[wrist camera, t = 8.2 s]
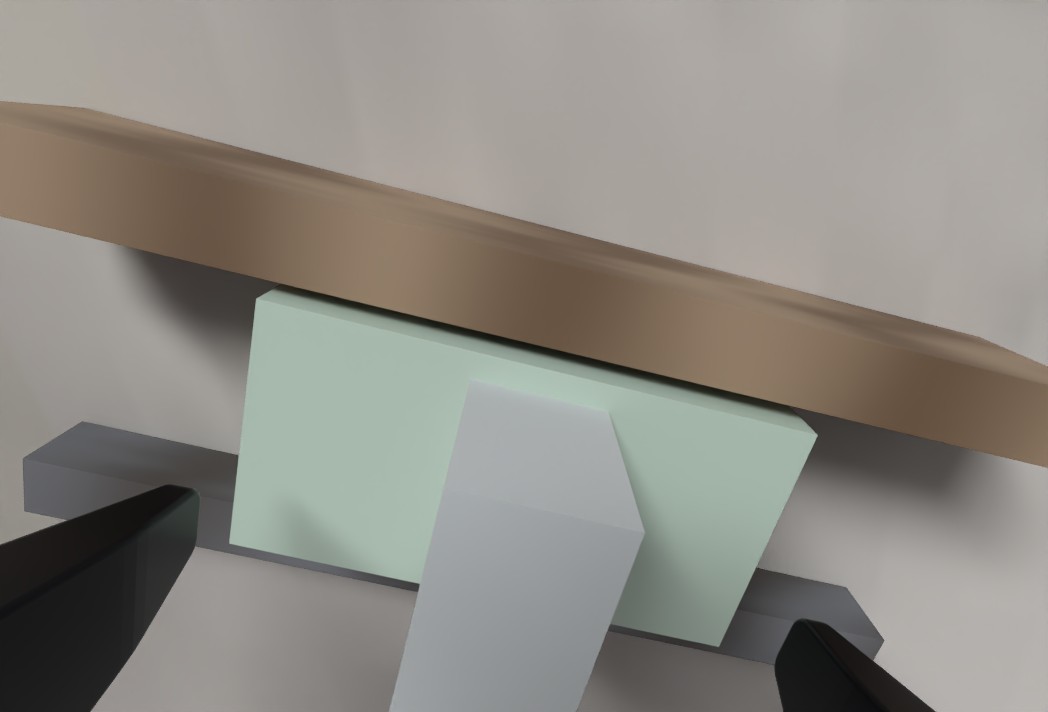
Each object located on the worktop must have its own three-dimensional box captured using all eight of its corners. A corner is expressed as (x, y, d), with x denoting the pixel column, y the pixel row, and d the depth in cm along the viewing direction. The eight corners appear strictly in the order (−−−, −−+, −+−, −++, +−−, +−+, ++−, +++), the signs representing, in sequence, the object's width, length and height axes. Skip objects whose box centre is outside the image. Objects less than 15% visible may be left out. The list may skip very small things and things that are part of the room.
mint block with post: (729, 346, 15) (946, 564, 7) (665, 507, 17) (789, 830, 9) (343, 248, 15) (121, 374, 7) (315, 427, 16) (110, 703, 8)
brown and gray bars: (978, 336, 15) (1154, 412, 11) (825, 626, 18) (916, 773, 14) (83, 108, 13) (-121, 91, 9) (81, 469, 17) (-72, 581, 12)
